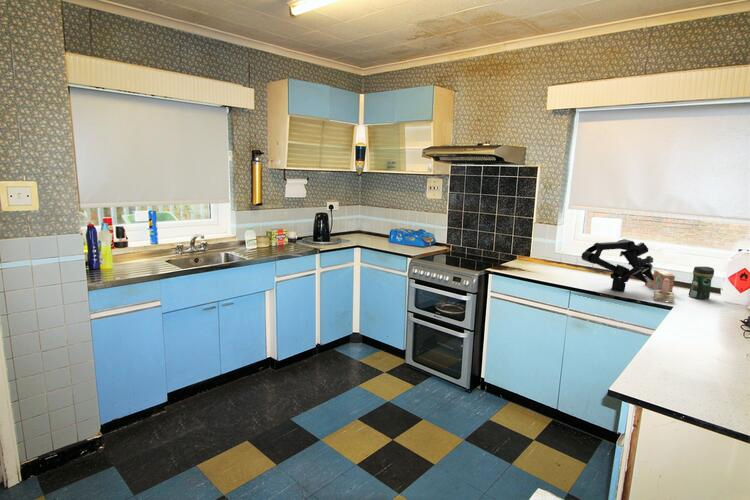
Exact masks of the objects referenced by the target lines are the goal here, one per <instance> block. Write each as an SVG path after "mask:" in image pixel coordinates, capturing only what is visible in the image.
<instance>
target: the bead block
mask: <svg viewBox="0 0 750 500" xmlns="http://www.w3.org/2000/svg"><path fill="white" fill-rule="evenodd" d="M653 291H654V290H653ZM654 299H655V300H654ZM674 299H675V294H674V292H673V291H672V292H668V293H667V295H666V294H661V291H660V290H655V291H654V292H653V300H654V301H656V300H660V301H659V302H662V301H668V302H673V303H674ZM668 302H667V303H668Z"/></svg>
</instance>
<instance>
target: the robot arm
mask: <svg viewBox="0 0 750 500" xmlns="http://www.w3.org/2000/svg"><path fill="white" fill-rule="evenodd" d="M607 250H608V251H609V250H620V253H619V257H624V258H625V259H626V261H627V263H628V265H629V266H631V267H632V268H631V269H630V268H628V267H626V266H624V265H620V264H616V265H614V264H612V263H611V262H609V261H606V260H603V259H602V258H601V257H600V256H601V254H602V252H603V251H607ZM646 253H649V248H648V246H647V245H646V244H645V242H642V241H641V242H640V243H638V244H636V243H635V241H633V240H630V239H625V238H624V239H620V240H617V241H609V242H595V243H594V244H593V245H592V246H590V247H588V248H586V250H585V251H584V252H582V254H581V260H582V261H585V262H587V263H590V264H593V265H597V266H600V267H602V268H603V269H606V270H608V271H610V272H612V273H611V274H610V279H613V280H612V284H611V289H610V291H615V292H616V291H617V292H621V291H622V293H624V291H625V290H626V283H628V282H629V280H630V278H631V276H632V277H634V278H636V279H638V280H640V281H641V282H643V283H644V284H645V283H647V280H646V276H647V277H648V278H649V279H651V280H652V281H653V280H654V277H653V275H652V272H651V271H653V270H652V269H653V266H654V265H653V264H652V263H654V258H653V257H652V256H651V255H648V256H646V257H645V258H642V257H641V256H643V255H645V254H646Z"/></svg>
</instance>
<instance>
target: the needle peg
mask: <svg viewBox="0 0 750 500" xmlns="http://www.w3.org/2000/svg"><path fill="white" fill-rule="evenodd" d="M669 283H670V280H669V279H667V278H666V279H664V280H663V285H662V290H661V294H666V295H667V293H668V288H669Z"/></svg>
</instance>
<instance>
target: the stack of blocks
mask: <svg viewBox="0 0 750 500" xmlns="http://www.w3.org/2000/svg"><path fill="white" fill-rule="evenodd" d="M651 272H652V275H653V277H654V280H653V281H652V280H651V279H649V278H648V277H647V276H645V278H646V280H647V283H645V282H644V285H645V286H647V287H648V288H650V289H651V290H653V291H655V290H660V291H661V290H662V285H663V280H664V279H666V278H667V279H669V280H670V283H669V288H668V292H673V288H674V284H675V280H676V279H675V278H676V276H675V275H674V274H673V273H671V272H669V271H666V270H665V269H664V270H663V269H654V270H651Z"/></svg>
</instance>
